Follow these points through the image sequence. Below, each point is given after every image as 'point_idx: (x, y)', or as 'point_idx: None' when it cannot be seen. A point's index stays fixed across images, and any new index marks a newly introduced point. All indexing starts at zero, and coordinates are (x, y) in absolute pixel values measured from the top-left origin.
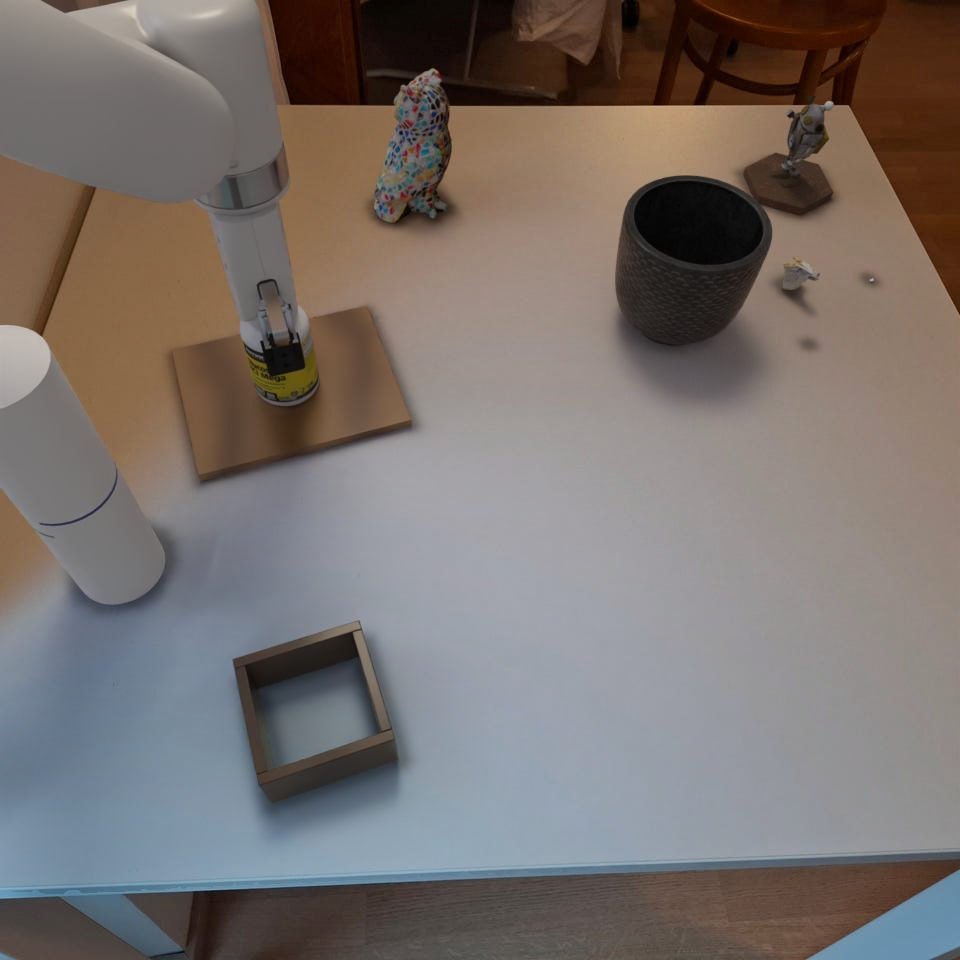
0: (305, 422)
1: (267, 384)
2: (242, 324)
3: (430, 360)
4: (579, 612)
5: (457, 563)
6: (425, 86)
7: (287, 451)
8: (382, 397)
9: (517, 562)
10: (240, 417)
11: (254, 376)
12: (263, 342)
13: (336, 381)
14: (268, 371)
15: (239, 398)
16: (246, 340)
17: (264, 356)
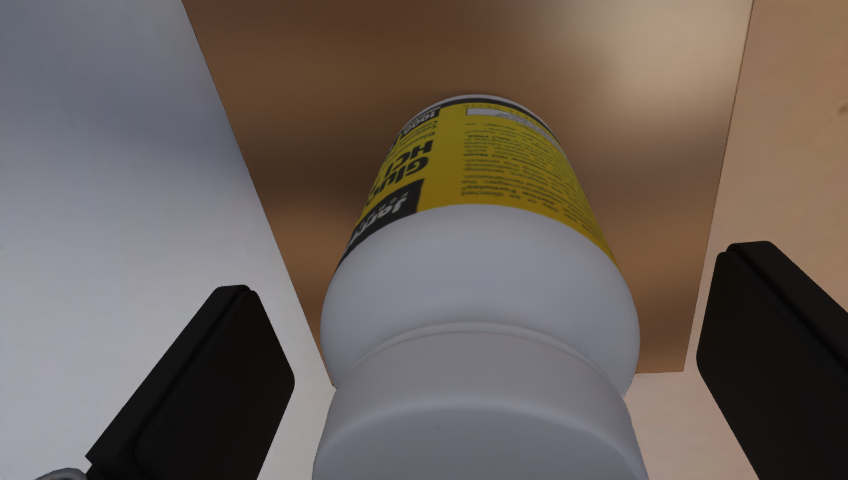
0: (335, 208)
1: (377, 176)
2: (474, 257)
3: None
4: (40, 462)
5: (70, 374)
6: None
7: (244, 158)
8: None
9: (93, 430)
10: (368, 32)
11: (417, 138)
12: (106, 468)
13: None
14: (203, 304)
15: (444, 33)
16: (382, 247)
17: (148, 377)
